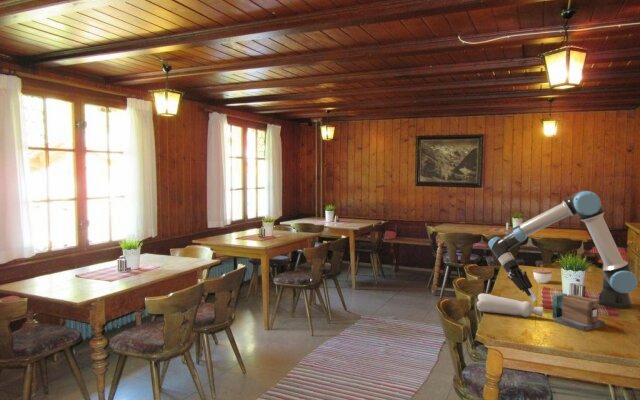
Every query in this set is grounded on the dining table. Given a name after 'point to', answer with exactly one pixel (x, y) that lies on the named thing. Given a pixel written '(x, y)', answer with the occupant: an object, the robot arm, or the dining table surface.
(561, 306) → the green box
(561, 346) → the dining table surface
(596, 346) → the dining table surface
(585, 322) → the bearing block
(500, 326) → the dining table surface
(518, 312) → the bottle
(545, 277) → the lidded jar
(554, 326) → the dining table surface
